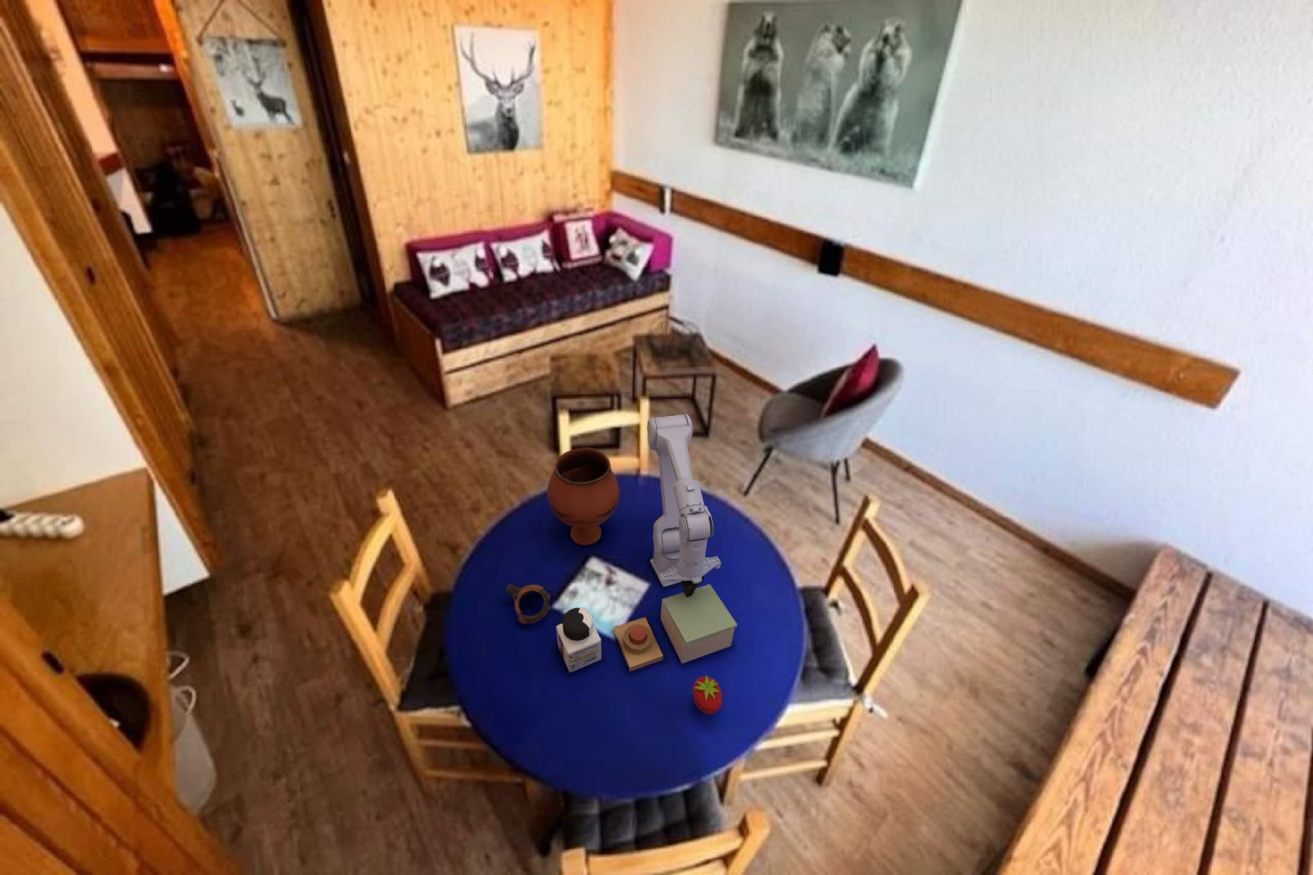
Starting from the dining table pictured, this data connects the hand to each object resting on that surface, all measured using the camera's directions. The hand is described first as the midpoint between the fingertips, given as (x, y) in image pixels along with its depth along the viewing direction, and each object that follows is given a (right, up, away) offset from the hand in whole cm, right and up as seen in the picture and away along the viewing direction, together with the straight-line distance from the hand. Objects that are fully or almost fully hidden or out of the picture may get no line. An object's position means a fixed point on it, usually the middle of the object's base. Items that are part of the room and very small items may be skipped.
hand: (687, 593), depth 136 cm
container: (-25, -12, -5) cm, 28 cm away
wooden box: (+2, -9, +1) cm, 10 cm away
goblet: (-27, +10, +25) cm, 38 cm away
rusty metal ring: (-38, -5, +4) cm, 39 cm away
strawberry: (+3, -21, -14) cm, 25 cm away
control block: (-12, -11, -3) cm, 17 cm away
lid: (+2, -4, -4) cm, 6 cm away
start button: (-12, -9, -5) cm, 15 cm away
